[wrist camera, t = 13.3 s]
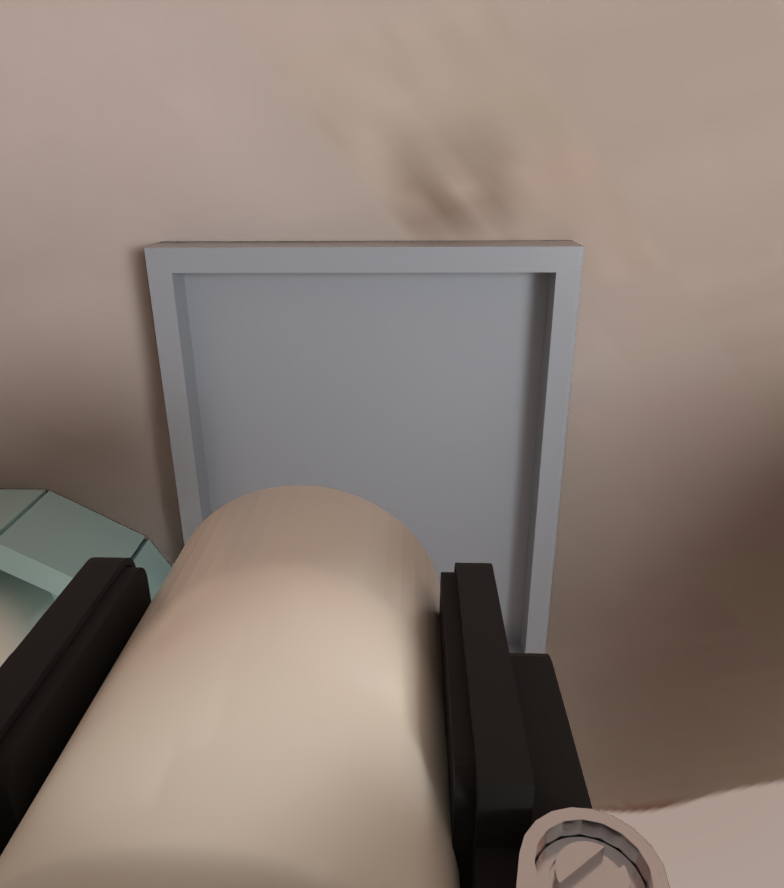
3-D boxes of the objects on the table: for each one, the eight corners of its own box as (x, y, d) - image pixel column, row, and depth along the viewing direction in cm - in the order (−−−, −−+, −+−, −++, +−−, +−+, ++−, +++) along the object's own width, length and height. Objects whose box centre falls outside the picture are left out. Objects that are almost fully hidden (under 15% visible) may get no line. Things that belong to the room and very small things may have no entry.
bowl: (193, 490, 28) (159, 541, 24) (231, 789, 34) (208, 867, 30) (-202, 487, 28) (-296, 537, 24) (-95, 783, 34) (-157, 859, 30)
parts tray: (571, 240, 24) (584, 246, 22) (535, 649, 30) (543, 677, 28) (162, 241, 24) (143, 247, 22) (212, 645, 30) (201, 673, 29)
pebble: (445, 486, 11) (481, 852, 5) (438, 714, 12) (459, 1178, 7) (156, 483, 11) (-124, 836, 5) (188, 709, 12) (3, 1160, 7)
